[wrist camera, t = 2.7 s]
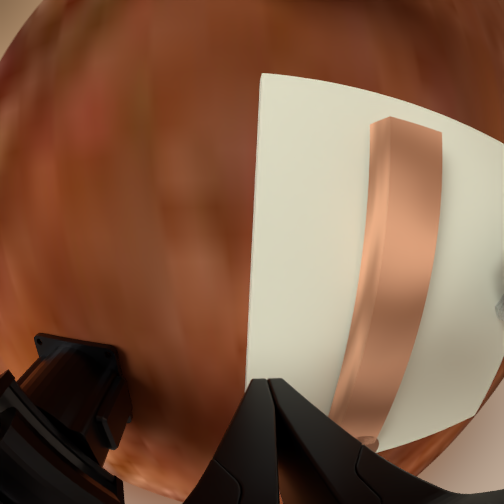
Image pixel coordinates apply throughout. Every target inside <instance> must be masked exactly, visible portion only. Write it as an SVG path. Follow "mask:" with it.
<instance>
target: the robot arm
mask: <svg viewBox="0 0 504 504" xmlns="http://www.w3.org/2000/svg"><path fill="white" fill-rule="evenodd" d="M40 340H41V341H42V342H41V341H40ZM34 341H35V345H36V348H37V351H38V355H39V358H38V359H37V360H36V361H35V362H34V363H33V364H32V365H31V367H30V368H29V369H28V370H27V371H26V372H25V373H24V374H23V375H22V376H21V377H20V378H19V380H18V381H17V382H16V381H15V380H14V379H15V377H14V376H13V375H12V373H11V372H10V371H9V369H8V370H7V371H5V372H4V373H3V374H1V375H0V504H125V503H124V490H123V481H122V480H121V479H119V478H118V477H116V476H113V475H112V474H110V473H109V472H108V471H106V470H105V469H104V468H103V465H104V462H105V459H106V457H107V454H108V451H109V449H111V450H115V449H117V448H118V446H119V443H120V440H121V437H122V435H123V432H124V429H125V426H126V424H127V423H130V422H131V421H132V418H133V415H132V412H131V410H132V403H131V399H130V395H129V391H128V387H127V382H126V380H125V378H124V377H122V372H121V368H120V363H119V358H118V353H117V350H116V349H115V348H114V347H113V346H111V345H106V344H99V343H92V342H86V341H80V340H74V339H69V338H63V337H58V336H53V335H48V334H44V333H38V334H37V335H36V336H35V337H34ZM107 352H109V353H110V354H111V355H109V354H108V353H107ZM279 490H280V494H281V498H282V501H283V504H504V489H502V490H497V491H490V492H484V493H476V494H460V493H454V492H450V491H447V490H444V489H442V488H440V487H437V486H435V485H433V484H431V483H429V482H427V481H424V480H422V479H420V478H418V477H416V476H414V475H412V474H410V473H408V472H406V471H404V470H402V469H401V468H399V467H397V466H395V465H394V464H392V463H390V462H388V461H387V460H385V459H384V458H382V457H381V456H379V455H378V454H376V453H375V452H374V451H372V450H371V449H369V448H368V447H367V446H365V445H362V443H361V442H360V441H359V440H357V439H356V438H355V437H353V436H352V435H351V434H349V433H348V432H347V431H345V430H344V429H343V428H342V427H340V426H339V425H338V424H337V423H335V422H334V421H333V420H332V419H330V418H329V417H328V416H327V415H325V414H324V413H323V412H322V411H320V410H319V409H318V408H317V407H316V406H314V405H313V404H312V403H311V402H310V401H308V400H307V399H306V398H305V397H304V396H302V395H301V394H300V393H299V392H298V391H297V390H295V389H294V388H293V387H292V386H291V385H290V384H288V383H287V382H286V381H285V380H284V379H282V378H268V379H267V380H266V379H265V378H254V379H252V380H251V381H250V383H249V385H248V387H247V389H246V392H245V394H244V396H243V398H242V400H241V402H240V404H239V406H238V408H237V410H236V412H235V414H234V416H233V418H232V421H231V423H230V425H229V427H228V429H227V431H226V433H225V434H224V436H223V438H222V440H221V442H220V444H219V446H218V448H217V450H216V452H215V454H214V456H213V459H212V460H211V461H210V463H209V465H208V467H207V469H206V470H205V472H204V474H203V475H202V477H201V479H200V480H199V482H198V484H197V485H196V487H195V488H194V489H193V491H192V492H191V493H190V495H189V496H188V497H187V499H186V500H185V501H184V502H183V504H280V500H279Z"/></svg>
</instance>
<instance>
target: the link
mask: <svg viewBox="0 0 504 504" xmlns="http://www.w3.org/2000/svg"><path fill="white" fill-rule="evenodd" d="M441 191H442V132H439V131H436V130H433V129H431V128H428V127H425V126H421V125H418V124H415V123H412V122H409V121H405V120H402V119H398V118H395V117H391V116H389V117H387V118H384V119H382V120H379V121H377V122H374V123H372V124H370V158H369V183H368V199H367V212H366V224H365V234H364V243H363V251H362V259H361V267H360V274H359V281H358V287H357V293H356V299H355V305H354V311H353V316H352V321H351V326H350V331H349V336H348V341H347V346H346V350H345V355H344V359H343V363H342V367H341V371H340V375H339V379H338V383H337V387H336V391H335V394H334V398H333V402H332V405H331V409H330V412H329V415H328V417H329V418H330V419H332V420H333V421H334V422H335V423H337V424H338V425H339V426H340V427H342V428H343V429H344V430H345V431H347V432H348V433H349V434H351V435H352V436H353V437H355V438H356V439H357V440H359V441H360V442H361V443H362V445H365V446H367V447H368V448H369V449H371V450H372V451H374V452H376V451H377V449H378V447H379V441H378V439H377V437H378V435H379V433H380V431H381V429H382V426H383V424H384V422H385V420H386V418H387V415H388V413H389V411H390V409H391V406H392V404H393V402H394V399H395V397H396V394H397V392H398V389H399V387H400V384H401V381H402V379H403V376H404V373H405V370H406V367H407V365H408V362H409V359H410V356H411V353H412V349H413V346H414V343H415V340H416V336H417V333H418V329H419V326H420V322H421V318H422V314H423V310H424V306H425V302H426V298H427V293H428V288H429V284H430V279H431V273H432V268H433V262H434V256H435V250H436V243H437V235H438V227H439V217H440V206H441Z"/></svg>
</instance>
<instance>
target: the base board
mask: <svg viewBox="0 0 504 504" xmlns="http://www.w3.org/2000/svg"><path fill="white" fill-rule="evenodd" d="M389 116H391V117H395V118H398V119H402V120H405V121H409V122H412V123H415V124H418V125H421V126H425V127H428V128H431V129H433V130H436V131H439V132H442V191H441V206H440V217H439V227H438V235H437V243H436V250H435V256H434V262H433V268H432V273H431V279H430V284H429V288H428V293H427V298H426V302H425V306H424V310H423V314H422V318H421V322H420V326H419V329H418V333H417V336H416V340H415V343H414V346H413V349H412V353H411V356H410V359H409V362H408V365H407V367H406V370H405V373H404V376H403V379H402V381H401V384H400V387H399V389H398V392H397V394H396V397H395V399H394V402H393V404H392V406H391V409H390V411H389V413H388V415H387V418H386V420H385V422H384V424H383V426H382V429H381V431H380V433H379V435H378V437H377V439H378V441H379V447H378V449H377V451H376V452H375V453H377V452H381V451H384V450H388V449H391V448H394V447H398V446H401V445H404V444H407V443H410V442H413V441H416V440H418V439H421V438H424V437H426V436H429V435H432V434H434V433H437V432H439V431H442V430H444V429H446V428H449V427H451V426H453V425H455V424H457V423H460V422H462V421H464V420H466V419H468V418H470V417H472V416H474V415H475V414H476V412H477V410H478V408H479V407H480V405H481V403H482V401H483V399H484V397H485V395H486V393H487V392H488V390H489V388H490V386H491V383H492V381H493V379H494V377H495V375H496V373H497V371H498V368H499V366H500V364H501V361H502V359H503V357H504V322H503V321H502V320H500V319H498V318H497V315H496V311H495V306H496V304H497V303H498V302H499V300H500V299H501V297H502V296H503V294H504V144H503V143H501V142H499V141H497V140H495V139H494V138H492V137H490V136H488V135H486V134H484V133H482V132H480V131H478V130H476V129H474V128H471V127H469V126H467V125H465V124H463V123H460V122H458V121H456V120H453V119H451V118H449V117H446V116H444V115H441V114H439V113H436V112H434V111H431V110H428V109H425V108H423V107H420V106H417V105H414V104H411V103H408V102H405V101H402V100H399V99H395V98H392V97H389V96H385V95H382V94H378V93H374V92H371V91H367V90H363V89H359V88H354V87H350V86H345V85H341V84H336V83H331V82H325V81H320V80H314V79H307V78H301V77H293V76H286V75H277V74H266V73H262V76H261V79H260V92H259V112H258V133H257V153H256V173H255V193H254V214H253V234H252V254H251V275H250V295H249V316H248V336H247V357H246V377H245V392H246V389H247V387H248V385H249V383H250V381H251V380H252V379H254V378H265V379H266V380H267V379H268V378H282V379H284V380H285V381H286V382H287V383H288V384H290V385H291V386H292V387H293V388H294V389H295V390H297V391H298V392H299V393H300V394H301V395H302V396H304V397H305V398H306V399H307V400H308V401H310V402H311V403H312V404H313V405H314V406H316V407H317V408H318V409H319V410H320V411H322V412H323V413H324V414H325V415H327V416H328V415H329V412H330V409H331V405H332V402H333V398H334V394H335V391H336V387H337V383H338V379H339V375H340V371H341V367H342V363H343V359H344V355H345V350H346V346H347V341H348V336H349V331H350V326H351V321H352V316H353V311H354V305H355V299H356V293H357V287H358V281H359V274H360V267H361V259H362V251H363V243H364V234H365V224H366V212H367V199H368V183H369V158H370V124H372V123H374V122H377V121H379V120H382V119H384V118H387V117H389Z"/></svg>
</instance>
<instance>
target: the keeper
mask: <svg viewBox="0 0 504 504" xmlns="http://www.w3.org/2000/svg"><path fill="white" fill-rule="evenodd" d="M495 311H496V315H497V318H498V319H500V320H502V321H503V322H504V294H503V296H502V297H501V299H500V300H499V302H498V303H497V304H496V306H495Z"/></svg>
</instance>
